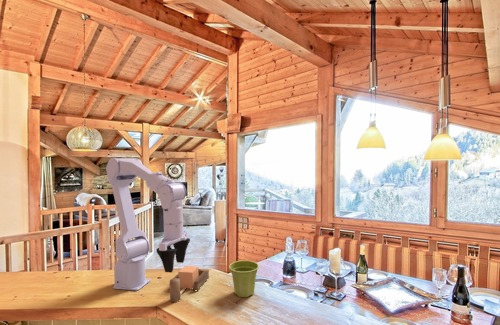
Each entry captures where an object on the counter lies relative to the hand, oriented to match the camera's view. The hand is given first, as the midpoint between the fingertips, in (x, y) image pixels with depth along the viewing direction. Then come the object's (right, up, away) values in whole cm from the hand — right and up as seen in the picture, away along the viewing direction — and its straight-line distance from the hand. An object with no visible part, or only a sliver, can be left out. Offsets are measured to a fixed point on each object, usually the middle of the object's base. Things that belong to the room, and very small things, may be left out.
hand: (174, 266), depth 85 cm
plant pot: (+21, -10, +3) cm, 24 cm away
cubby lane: (+2, -10, +10) cm, 15 cm away
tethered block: (+1, -10, +5) cm, 11 cm away
